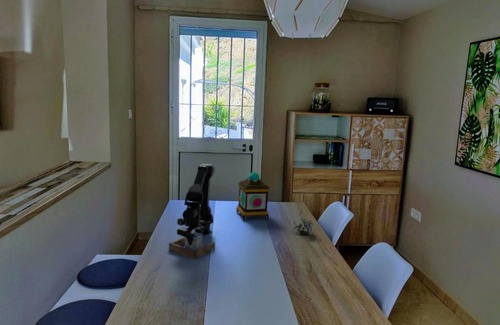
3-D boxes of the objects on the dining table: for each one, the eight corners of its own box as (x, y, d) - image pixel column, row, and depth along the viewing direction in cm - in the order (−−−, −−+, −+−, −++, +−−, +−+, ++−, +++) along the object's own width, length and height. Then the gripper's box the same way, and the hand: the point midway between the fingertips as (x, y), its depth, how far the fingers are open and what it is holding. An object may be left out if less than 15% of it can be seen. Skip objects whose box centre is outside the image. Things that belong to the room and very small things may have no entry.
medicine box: (184, 248, 185) (184, 232, 183) (189, 245, 189) (190, 229, 187) (196, 252, 181) (197, 235, 180) (202, 249, 185) (202, 233, 183)
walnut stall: (189, 240, 195) (190, 234, 195) (214, 248, 186) (215, 242, 186) (169, 249, 182) (169, 243, 182) (194, 259, 173) (194, 252, 173)
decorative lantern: (233, 211, 247) (235, 168, 242) (261, 210, 253) (263, 168, 248) (241, 221, 229) (244, 175, 223) (271, 220, 234) (274, 174, 229)
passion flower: (308, 243, 214) (314, 232, 206) (290, 238, 214) (296, 227, 205) (309, 227, 222) (315, 216, 214) (292, 223, 222) (297, 211, 213)
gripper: (194, 206, 194) (193, 234, 196) (168, 215, 178) (168, 245, 181) (210, 211, 188) (209, 239, 191) (185, 220, 172) (185, 251, 175)
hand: (193, 243), depth 184 cm, fingers closed on medicine box, 4 cm apart
